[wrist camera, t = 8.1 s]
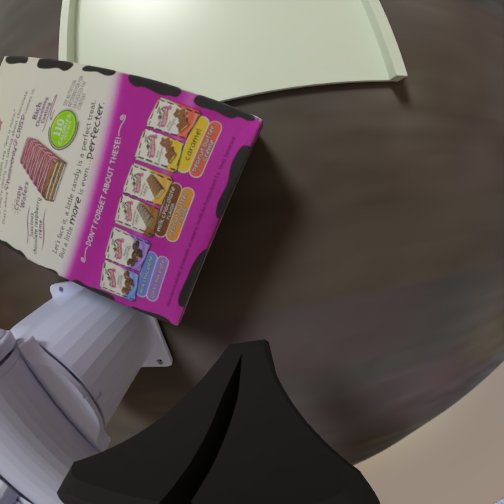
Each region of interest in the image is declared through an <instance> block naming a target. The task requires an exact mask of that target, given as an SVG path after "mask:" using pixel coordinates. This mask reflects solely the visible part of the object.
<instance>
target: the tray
mask: <svg viewBox="0 0 504 504" xmlns="http://www.w3.org/2000/svg"><path fill="white" fill-rule="evenodd" d="M59 60H60V61H68V62H74V63H80V64H85V65H90V66H95V67H100V68H106V69H110V70H115V71H120V72H124V73H128V74H132V75H136V76H140V77H144V78H148V79H152V80H156V81H159V82H162V83H166V84H169V85H172V86H176V87H179V88H182V89H185V90H188V91H192V92H194V93H197V94H200V95H202V96H205V97H208V98H211V99H214V100H217V101H220V102H225V101H230V100H234V99H239V98H243V97H248V96H253V95H258V94H263V93H269V92H275V91H281V90H288V89H294V88H302V87H310V86H319V85H329V84H341V83H357V82H398V81H400V80H401V79H403V78H405V77H406V76H407V72H406V69H405V66H404V63H403V60H402V57H401V54H400V51H399V48H398V45H397V42H396V40H395V37H394V34H393V32H392V29H391V27H390V24H389V22H388V20H387V17H386V15H385V13H384V10H383V8H382V6H381V4H380V2H379V0H63V2H62V10H61V21H60V35H59Z"/></svg>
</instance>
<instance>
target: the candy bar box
mask: <svg viewBox="0 0 504 504" xmlns="http://www.w3.org/2000/svg"><path fill="white" fill-rule="evenodd" d="M262 127H263V120H262V119H260V118H258V117H256V116H254V115H252V114H249V113H247V112H245V111H243V110H240V109H238V108H235V107H233V106H230V105H228V104H225V103H222V102H220V101H217V100H214V99H211V98H208V97H205V96H202V95H200V94H197V93H194V92H192V91H188V90H185V89H182V88H179V87H176V86H172V85H169V84H166V83H162V82H159V81H156V80H152V79H148V78H144V77H140V76H136V75H132V74H128V73H124V72H120V71H115V70H110V69H106V68H100V67H95V66H90V65H85V64H80V63H74V62H68V61H60V60H54V59H43V58H31V57H22V56H5V57H4V60H3V62H2V64H1V67H0V243H1V244H3V245H5V246H6V247H8V248H10V249H11V250H13V251H15V252H16V253H18V254H20V255H22V256H24V257H25V258H27V259H29V260H31V261H33V262H34V263H36V264H38V265H40V266H42V267H43V268H46V269H48V270H50V271H52V272H54V273H56V274H57V275H59V276H62V277H64V278H66V279H68V280H69V281H72V282H74V283H76V284H78V285H80V286H82V287H84V288H87V289H89V290H91V291H93V292H95V293H97V294H100V295H102V296H104V297H106V298H109V299H111V300H113V301H115V302H117V303H120V304H122V305H125V306H127V307H130V308H132V309H134V310H137V311H139V312H142V313H144V314H147V315H149V316H152V317H154V318H157V319H159V320H162V321H165V322H168V323H170V324H173V325H178V324H179V323H180V322H181V320H182V317H183V314H184V312H185V309H186V307H187V304H188V301H189V299H190V296H191V294H192V291H193V289H194V286H195V284H196V281H197V279H198V276H199V274H200V271H201V268H202V266H203V264H204V261H205V259H206V256H207V254H208V251H209V249H210V246H211V244H212V242H213V239H214V237H215V234H216V232H217V230H218V227H219V225H220V223H221V220H222V218H223V215H224V213H225V211H226V208H227V206H228V204H229V201H230V199H231V197H232V194H233V192H234V190H235V188H236V185H237V183H238V181H239V178H240V176H241V173H242V171H243V169H244V167H245V165H246V163H247V160H248V158H249V156H250V154H251V152H252V149H253V147H254V145H255V143H256V140H257V138H258V136H259V134H260V132H261V129H262Z"/></svg>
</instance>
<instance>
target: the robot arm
mask: <svg viewBox="0 0 504 504" xmlns="http://www.w3.org/2000/svg"><path fill="white" fill-rule="evenodd" d="M62 288H63V289H62ZM50 291H51V294H52V296H53V298H52V299H51V300H49V301H48V302H46V303H45V304H44V305H42V306H41V307H39V308H38V309H37V310H35V311H34V312H32V313H31V314H30V315H28V316H27V317H26V318H24V319H23V320H22V321H20V322H19V323H18V324H16V325H15V326H14V327H13V328H12V329H11V330H10V331H8V330H7V331H5V330H3V329H0V504H380V502H379V500H378V498H377V496H376V494H375V492H374V491H373V489H372V488H371V486H370V485H369V483H368V482H367V481H366V479H365V478H364V477H363V475H362V474H361V472H360V471H359V470H358V469H357V468H355V467H354V466H353V465H351V464H350V463H349V462H347V461H346V460H345V459H344V458H342V457H341V456H340V455H339V454H338V453H337V452H335V451H334V450H333V449H332V448H331V447H330V446H329V445H328V444H327V443H326V442H325V441H324V440H323V439H322V438H321V437H320V436H319V435H318V434H317V433H316V432H315V431H314V430H313V428H312V427H311V426H310V425H309V424H308V423H307V422H306V421H305V419H304V418H303V417H302V415H301V414H300V413H299V412H298V410H297V409H296V407H295V406H294V404H293V403H292V402H291V400H290V399H289V397H288V395H287V394H286V392H285V390H284V388H283V387H282V385H281V383H280V381H279V379H278V377H277V375H276V371H275V367H274V363H273V359H272V355H271V350H270V346H269V342H268V341H266V340H265V339H264V340H258V341H251V342H244V343H236V344H230V345H229V346H228V348H227V349H226V350H225V351H224V353H223V354H222V355H221V356H220V358H219V359H218V360H217V362H216V363H215V364H214V365H213V367H212V368H211V369H210V370H209V371H208V373H207V374H206V375H205V376H204V377H203V379H202V380H201V381H200V382H199V383H198V384H197V385H196V386H195V387H194V388H193V389H192V390H191V392H190V393H189V394H188V395H187V396H186V397H185V398H184V399H183V400H182V401H181V402H179V403H178V404H177V405H176V406H175V407H174V408H173V409H171V410H170V411H169V412H168V413H167V414H165V415H164V416H163V417H162V418H160V419H159V420H158V421H156V422H155V423H153V424H152V425H150V426H149V427H147V428H146V429H144V430H143V431H141V432H140V433H138V434H137V435H135V436H133V437H131V438H130V439H128V440H126V441H124V442H122V443H120V444H118V445H116V446H114V447H112V448H110V449H108V450H106V449H107V447H108V445H109V443H110V441H111V439H110V438H109V436H108V435H107V434H106V432H105V430H104V429H105V427H106V426H107V424H108V422H109V420H110V419H111V417H112V415H113V413H114V412H115V410H116V408H117V407H118V405H119V403H120V402H121V400H122V398H123V397H124V395H125V393H126V392H127V390H128V388H129V387H130V385H131V383H132V382H133V380H134V378H135V377H136V375H137V373H138V372H139V370H140V368H141V367H167V366H171V364H172V362H173V359H172V356H171V354H170V351H169V349H168V346H167V344H166V341H165V339H164V336H163V334H162V331H161V329H160V326H159V323H158V321H157V318H154V317H152V316H149V315H147V314H144V313H142V312H139V311H137V310H134V309H132V308H130V307H127V306H125V305H122V304H120V303H117V302H115V301H113V300H111V299H109V298H106V297H104V296H102V295H100V294H97V293H95V292H93V291H91V290H89V289H87V288H84V287H82V286H80V285H78V284H76V283H74V282H72V281H66V282H61V283H56V284H53V285H51V287H50ZM159 359H160V360H162V361H163V362H161V361H159ZM494 504H504V497H503V498H502V499H500V500H499V501H497V502H496V503H494Z"/></svg>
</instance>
